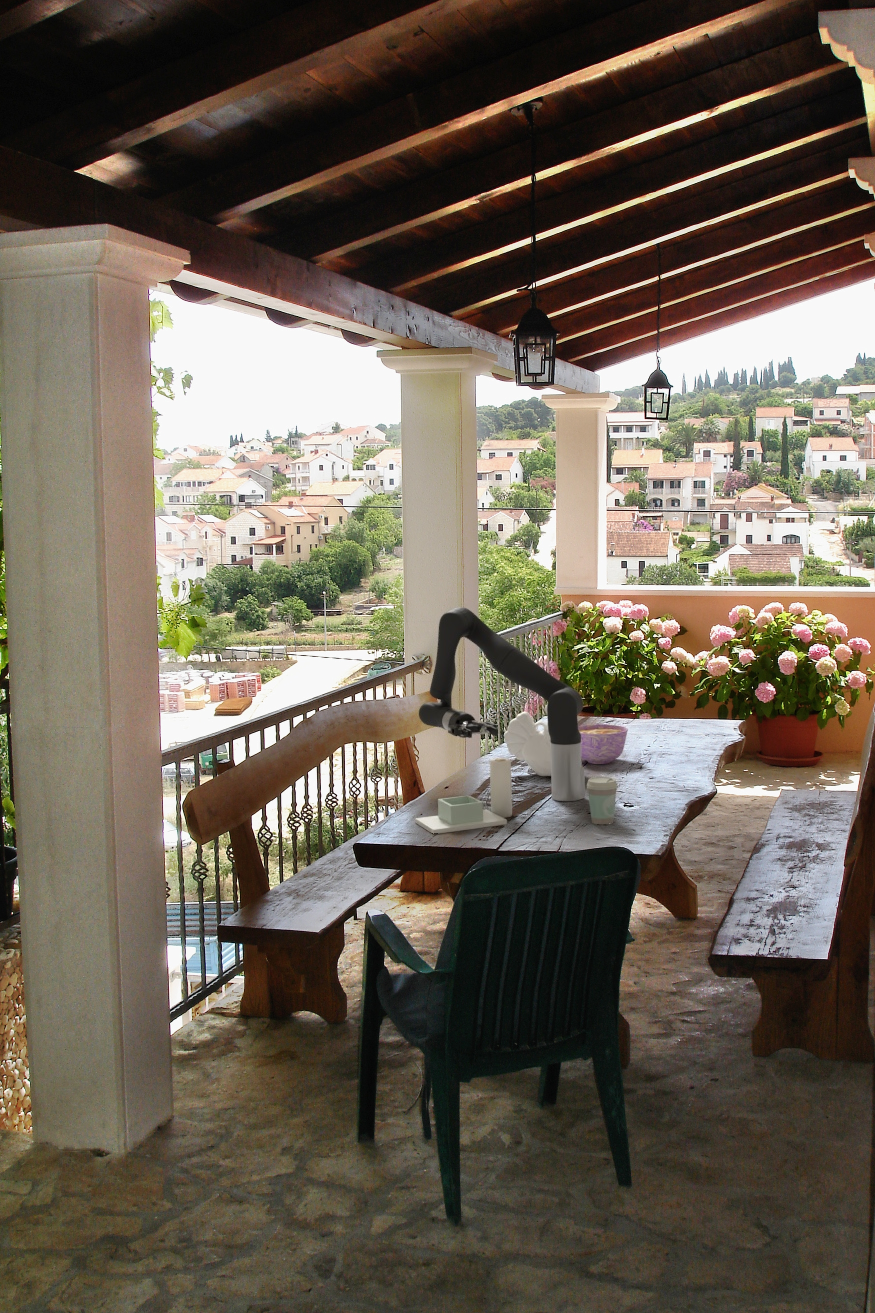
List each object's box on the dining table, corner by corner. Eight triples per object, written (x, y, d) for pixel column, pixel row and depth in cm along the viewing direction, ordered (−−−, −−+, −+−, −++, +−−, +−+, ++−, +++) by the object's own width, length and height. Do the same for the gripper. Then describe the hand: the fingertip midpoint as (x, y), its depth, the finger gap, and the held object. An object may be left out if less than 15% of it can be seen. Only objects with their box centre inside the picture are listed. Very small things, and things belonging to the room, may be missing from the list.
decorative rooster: (587, 772, 374) (586, 698, 372) (568, 781, 361) (566, 705, 358) (520, 766, 387) (518, 695, 384) (499, 775, 373) (497, 702, 371)
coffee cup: (602, 828, 302) (601, 784, 301) (580, 822, 309) (579, 779, 308) (624, 822, 307) (624, 779, 306) (602, 817, 314) (602, 775, 313)
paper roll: (506, 811, 324) (505, 756, 322) (515, 816, 318) (514, 760, 317) (487, 814, 322) (486, 759, 320) (496, 818, 316) (494, 762, 314)
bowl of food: (626, 755, 400) (625, 723, 398) (630, 767, 380) (629, 733, 379) (570, 756, 402) (569, 724, 400) (571, 767, 382) (570, 734, 381)
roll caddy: (486, 813, 323) (485, 791, 322) (507, 824, 310) (506, 801, 309) (415, 822, 315) (414, 800, 314) (433, 834, 302) (432, 810, 301)
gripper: (438, 712, 339) (462, 722, 325) (479, 709, 345) (505, 719, 331) (437, 736, 340) (462, 747, 326) (478, 733, 346) (504, 744, 332)
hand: (483, 733), depth 328 cm, fingers open, 8 cm apart
